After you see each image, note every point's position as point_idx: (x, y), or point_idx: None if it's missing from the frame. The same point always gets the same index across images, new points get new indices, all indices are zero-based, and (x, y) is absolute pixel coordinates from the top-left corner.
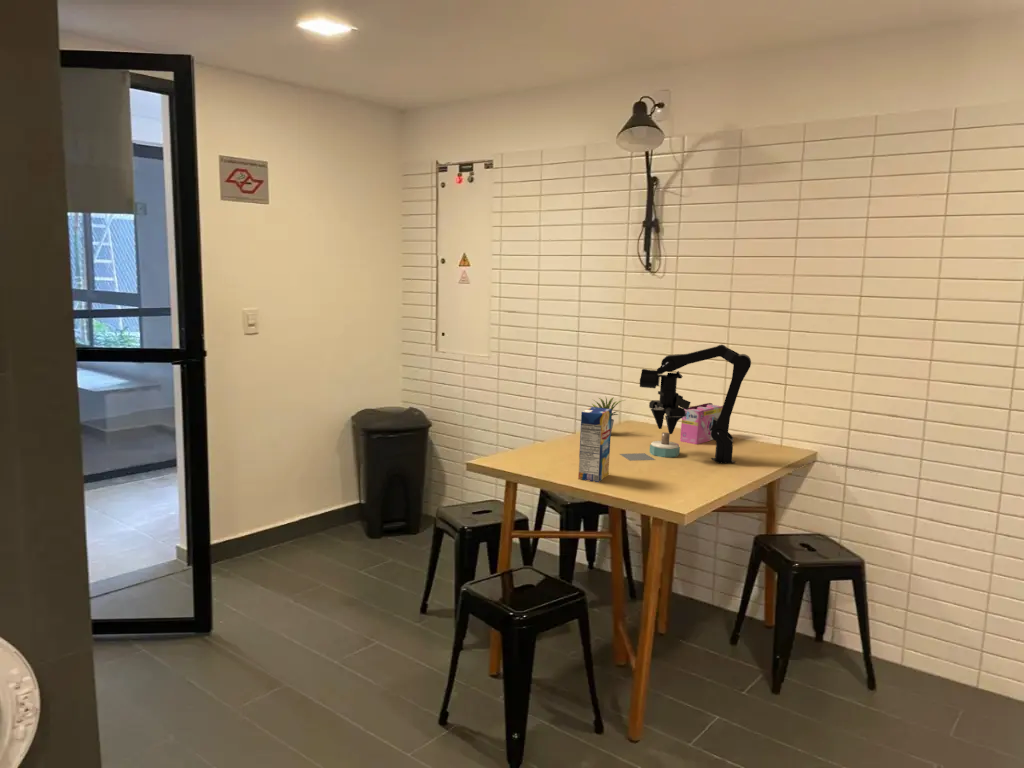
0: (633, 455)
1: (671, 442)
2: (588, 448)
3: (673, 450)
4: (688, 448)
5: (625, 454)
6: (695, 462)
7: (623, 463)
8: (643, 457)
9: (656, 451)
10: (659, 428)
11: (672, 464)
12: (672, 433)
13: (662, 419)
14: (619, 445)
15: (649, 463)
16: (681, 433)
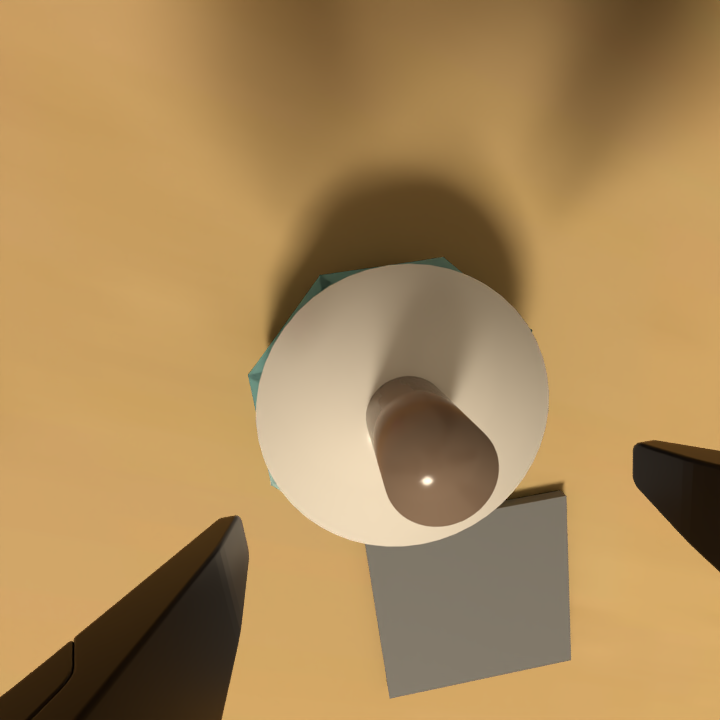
0: (436, 619)
1: (334, 322)
2: None
3: None
4: (46, 22)
5: (408, 664)
6: (619, 184)
7: (596, 687)
8: (496, 565)
9: None
10: (246, 551)
11: (655, 395)
12: (659, 441)
13: (156, 666)
14: None
15: (612, 542)
16: None
